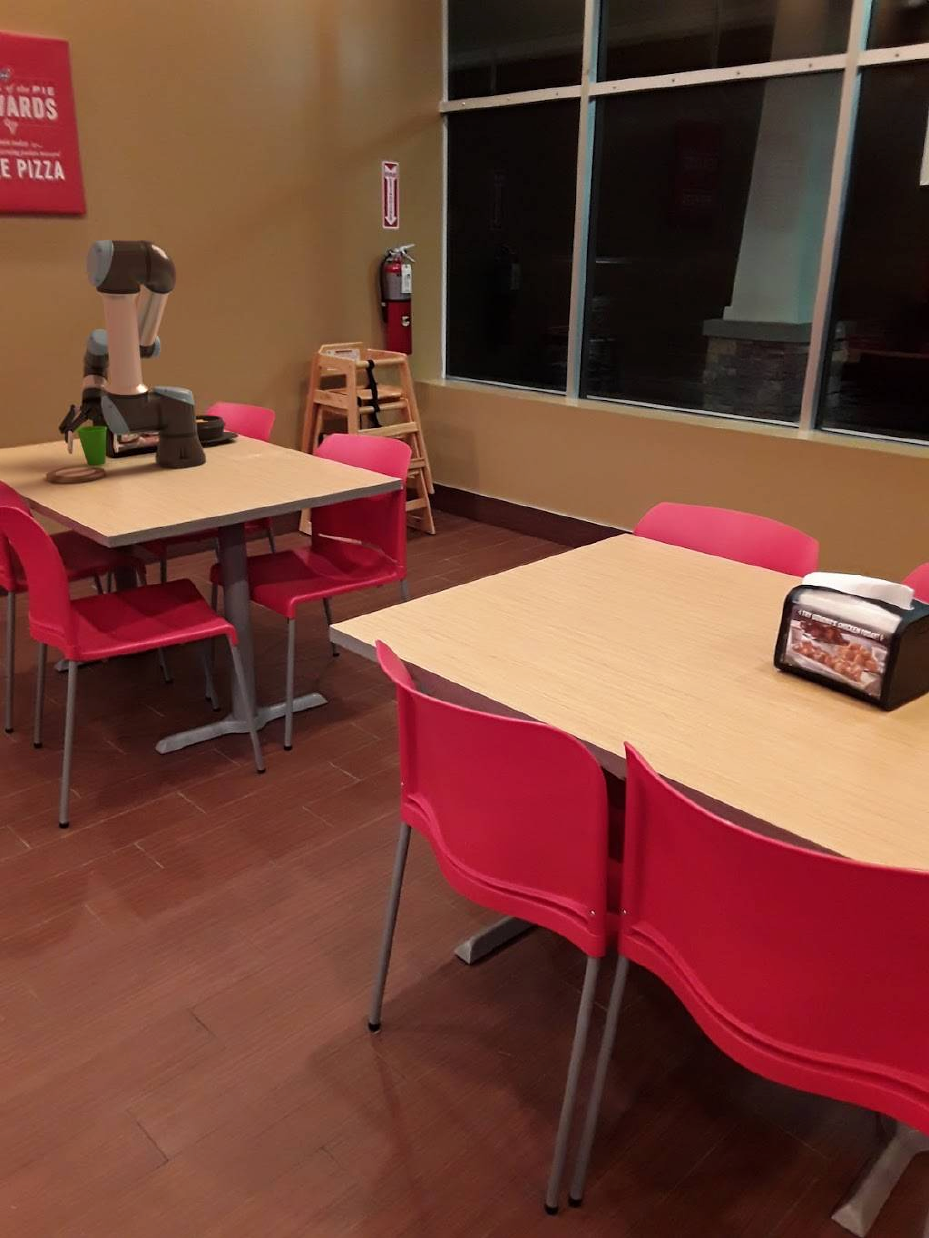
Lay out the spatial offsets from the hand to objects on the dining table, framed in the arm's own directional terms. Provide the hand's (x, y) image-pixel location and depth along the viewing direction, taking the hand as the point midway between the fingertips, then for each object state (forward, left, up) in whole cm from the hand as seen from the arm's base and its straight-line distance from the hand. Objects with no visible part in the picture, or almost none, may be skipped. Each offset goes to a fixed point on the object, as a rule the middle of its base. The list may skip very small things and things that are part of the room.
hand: (93, 450), depth 288 cm
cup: (+1, -2, -5) cm, 5 cm away
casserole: (-10, -42, -5) cm, 43 cm away
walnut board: (-6, +15, -5) cm, 17 cm away
